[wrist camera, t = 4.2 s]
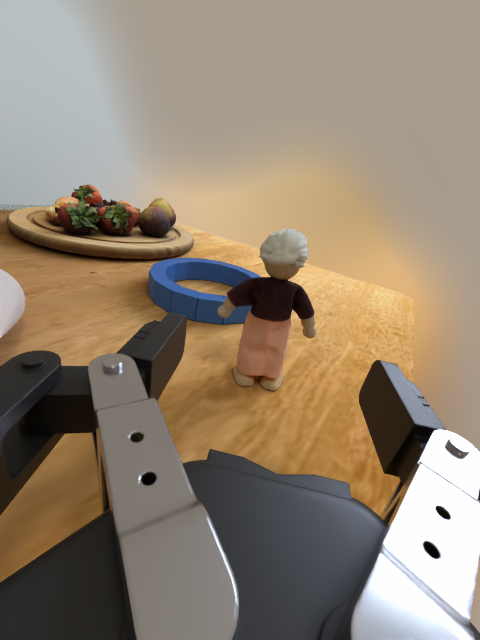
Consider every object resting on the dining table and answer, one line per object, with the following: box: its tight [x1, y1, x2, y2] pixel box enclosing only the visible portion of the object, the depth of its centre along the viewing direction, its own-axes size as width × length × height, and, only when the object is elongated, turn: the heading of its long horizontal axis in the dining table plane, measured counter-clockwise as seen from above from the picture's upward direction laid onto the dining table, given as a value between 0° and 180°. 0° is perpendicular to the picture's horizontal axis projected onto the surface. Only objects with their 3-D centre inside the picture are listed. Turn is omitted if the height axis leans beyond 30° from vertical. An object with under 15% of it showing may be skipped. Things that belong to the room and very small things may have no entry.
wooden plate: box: [7, 185, 194, 259], centre depth 55 cm, size 32×32×8 cm
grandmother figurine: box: [217, 228, 316, 391], centre depth 22 cm, size 8×4×13 cm, turn 98°
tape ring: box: [148, 258, 260, 324], centre depth 39 cm, size 16×16×3 cm
